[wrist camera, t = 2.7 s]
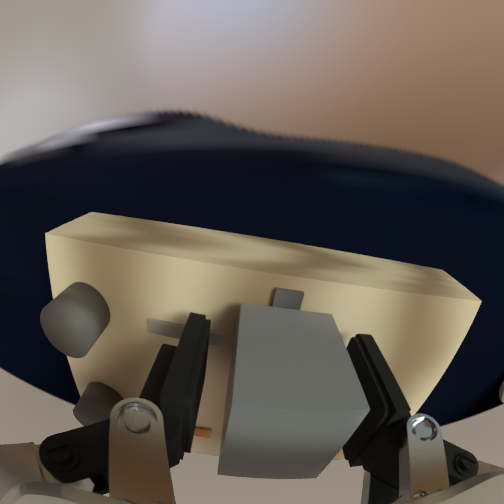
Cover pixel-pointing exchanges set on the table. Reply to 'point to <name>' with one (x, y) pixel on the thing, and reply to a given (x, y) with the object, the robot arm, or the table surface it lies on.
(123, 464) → the robot arm
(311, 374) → the fader tab
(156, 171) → the table surface
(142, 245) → the fader console
